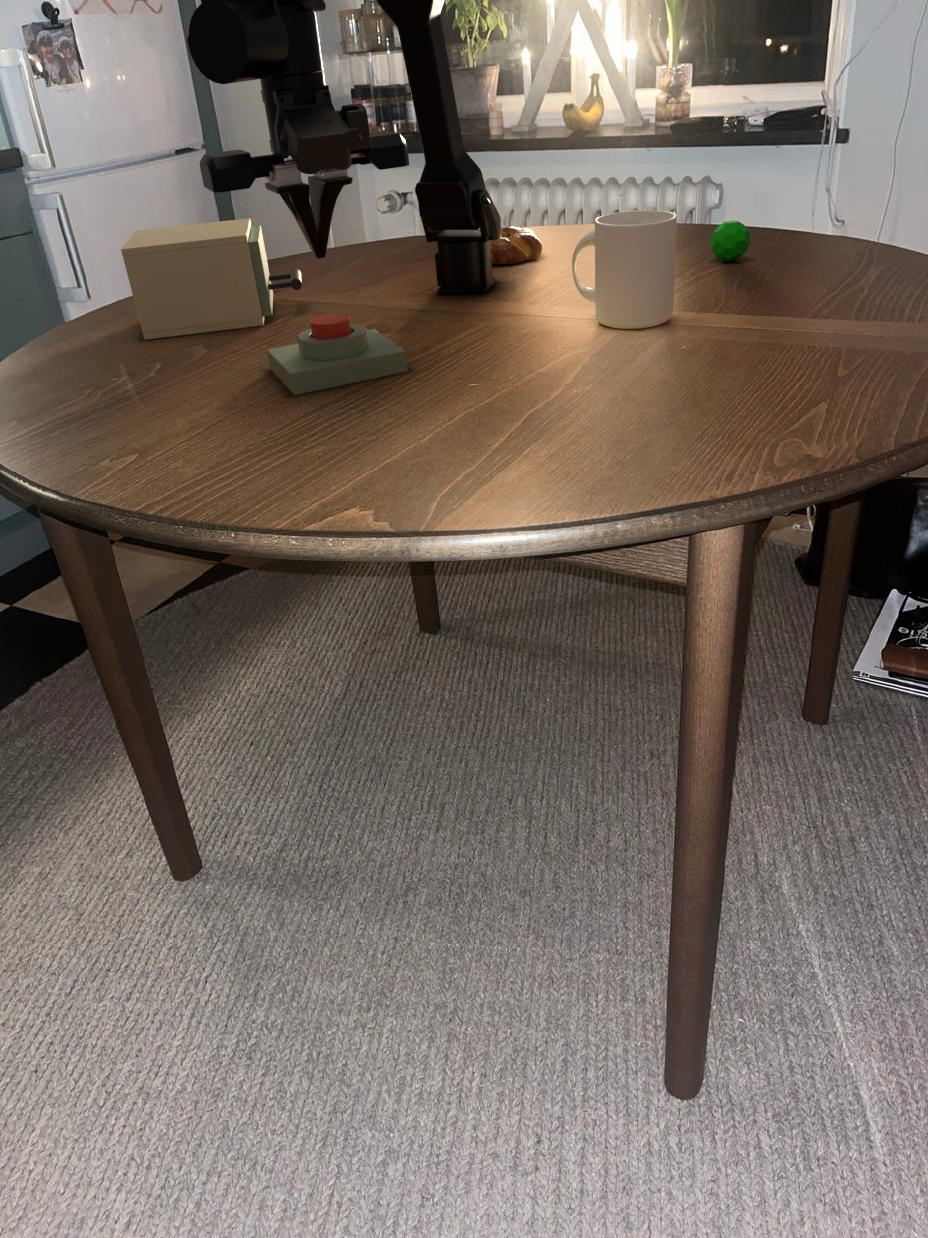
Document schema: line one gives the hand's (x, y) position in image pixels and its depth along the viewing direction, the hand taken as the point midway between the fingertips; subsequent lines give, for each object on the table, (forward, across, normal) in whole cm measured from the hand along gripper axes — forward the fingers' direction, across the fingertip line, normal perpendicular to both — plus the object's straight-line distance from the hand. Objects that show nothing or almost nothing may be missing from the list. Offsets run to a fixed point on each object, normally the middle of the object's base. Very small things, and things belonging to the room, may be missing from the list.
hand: (320, 257), depth 92 cm
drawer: (+10, -4, +31) cm, 33 cm away
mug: (+12, +33, -2) cm, 35 cm away
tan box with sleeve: (+11, -8, +32) cm, 35 cm away
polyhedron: (+12, +59, +13) cm, 62 cm away
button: (+8, 0, 0) cm, 8 cm away
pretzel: (+12, +37, +37) cm, 54 cm away
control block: (+11, 0, 0) cm, 11 cm away
